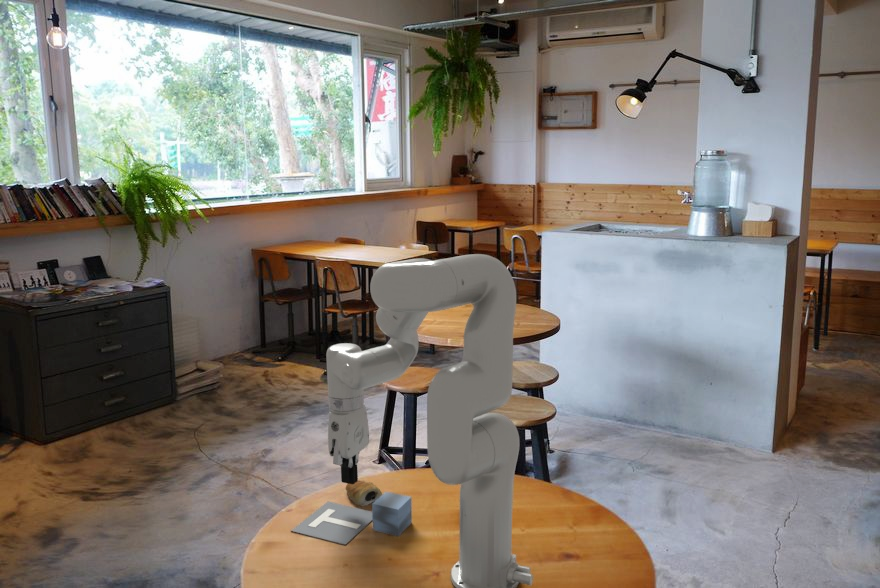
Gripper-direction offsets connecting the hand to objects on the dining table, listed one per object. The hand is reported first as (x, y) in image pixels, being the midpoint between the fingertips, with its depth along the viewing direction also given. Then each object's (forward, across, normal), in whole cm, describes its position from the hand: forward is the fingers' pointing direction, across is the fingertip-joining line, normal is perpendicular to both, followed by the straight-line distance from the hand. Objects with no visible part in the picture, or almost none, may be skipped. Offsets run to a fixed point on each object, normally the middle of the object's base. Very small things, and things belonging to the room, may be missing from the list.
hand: (349, 481), depth 167 cm
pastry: (+6, +5, 0) cm, 8 cm away
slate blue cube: (+6, -4, -12) cm, 14 cm away
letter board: (+6, -7, -1) cm, 9 cm away
